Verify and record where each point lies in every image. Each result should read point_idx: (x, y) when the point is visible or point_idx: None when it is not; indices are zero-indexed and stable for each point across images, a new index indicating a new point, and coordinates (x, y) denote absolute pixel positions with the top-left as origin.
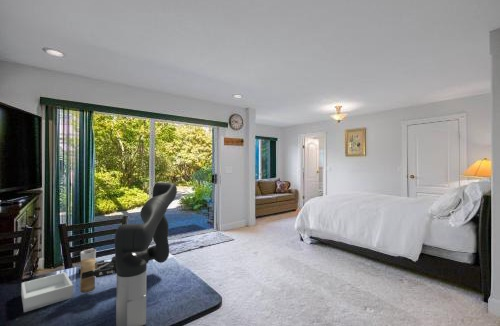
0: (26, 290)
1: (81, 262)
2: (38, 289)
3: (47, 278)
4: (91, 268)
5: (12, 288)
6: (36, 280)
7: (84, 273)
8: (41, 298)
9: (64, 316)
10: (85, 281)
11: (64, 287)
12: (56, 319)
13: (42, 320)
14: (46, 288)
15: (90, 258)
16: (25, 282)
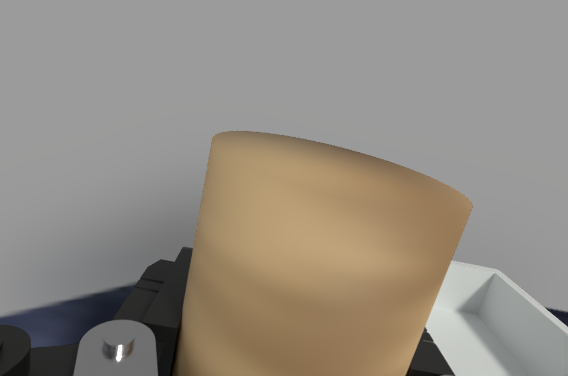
0: (483, 313)
1: (297, 138)
2: (499, 350)
3: (563, 342)
4: (190, 287)
5: (563, 322)
6: (525, 302)
7: (177, 262)
8: None
9: (32, 341)
10: None
11: None
12: (55, 314)
13: (126, 290)
14: (503, 374)
15: (463, 206)
16: (499, 275)
